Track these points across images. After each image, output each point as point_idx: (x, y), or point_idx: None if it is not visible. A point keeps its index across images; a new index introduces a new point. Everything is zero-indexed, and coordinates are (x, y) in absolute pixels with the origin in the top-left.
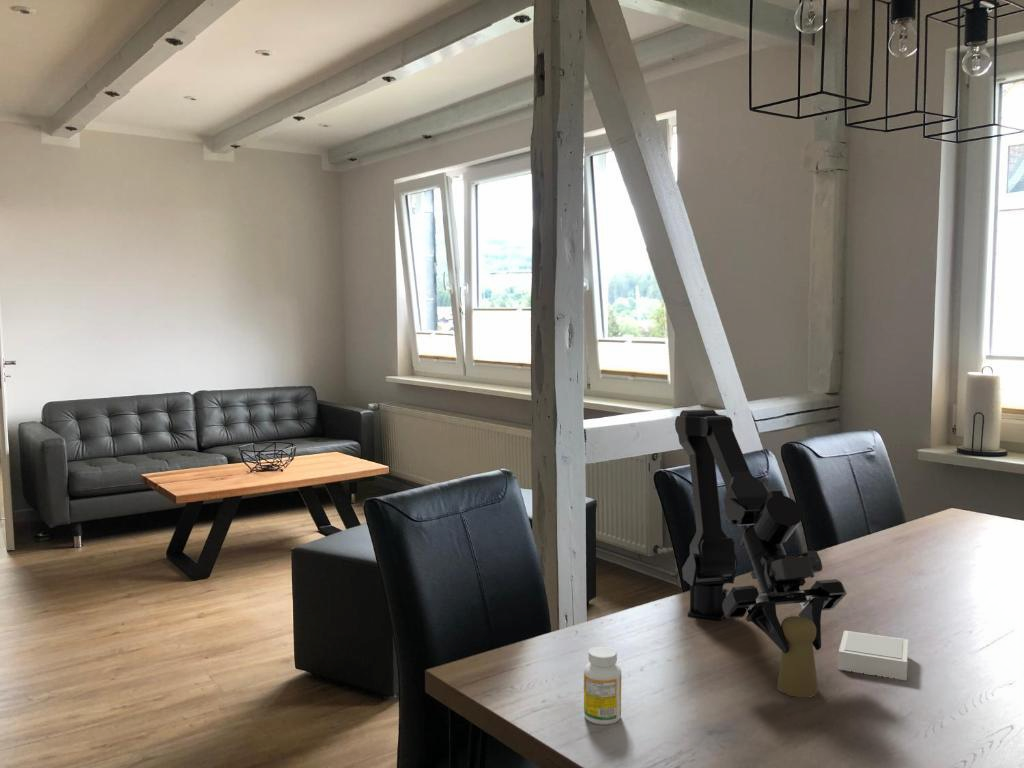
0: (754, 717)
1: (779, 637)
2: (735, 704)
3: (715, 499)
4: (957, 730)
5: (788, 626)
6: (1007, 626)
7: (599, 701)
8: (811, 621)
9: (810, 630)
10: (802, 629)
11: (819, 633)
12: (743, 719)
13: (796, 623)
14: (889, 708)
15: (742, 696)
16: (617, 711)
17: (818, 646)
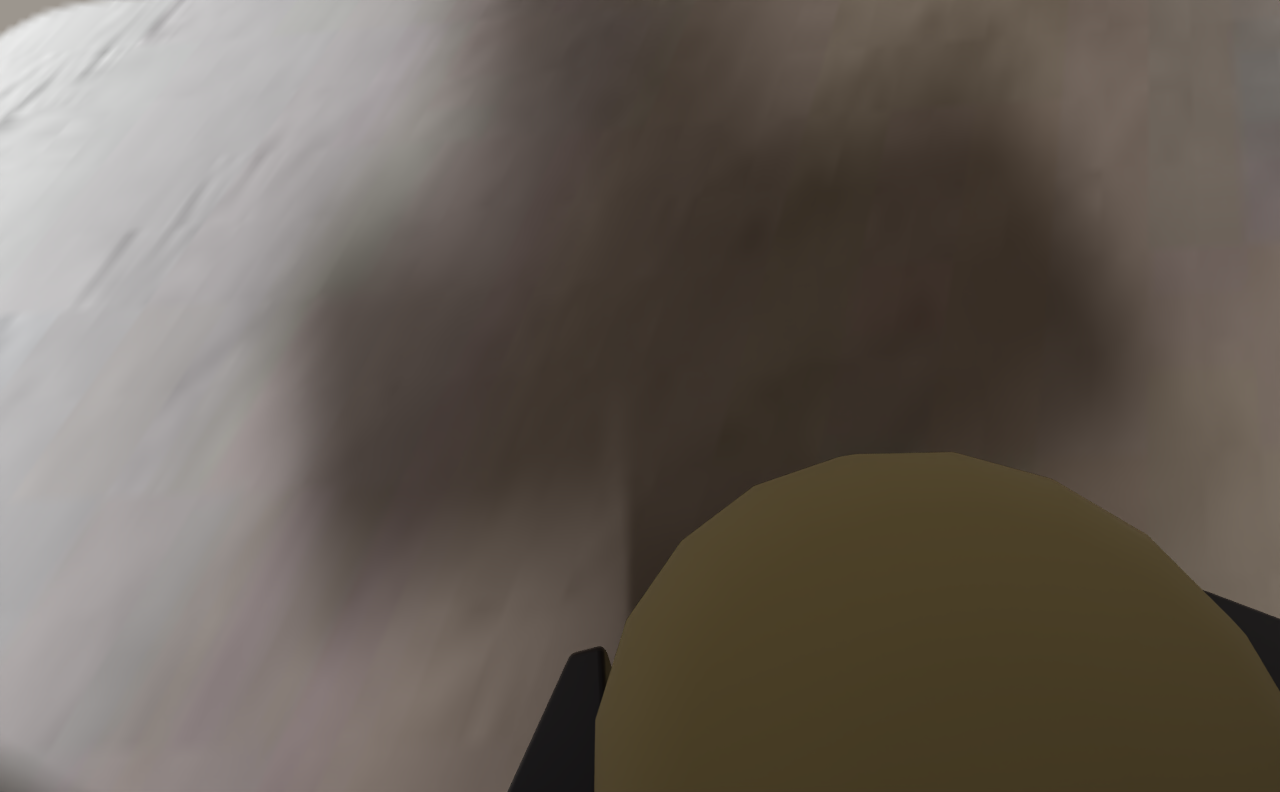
0: (1130, 274)
1: (1228, 608)
2: (1262, 435)
3: None
4: (75, 208)
5: (1198, 592)
6: None
7: None
8: (681, 753)
9: (764, 487)
10: (922, 461)
11: (531, 788)
12: (1199, 247)
13: (1063, 571)
14: (275, 425)
15: (1217, 562)
16: None
17: (605, 653)
